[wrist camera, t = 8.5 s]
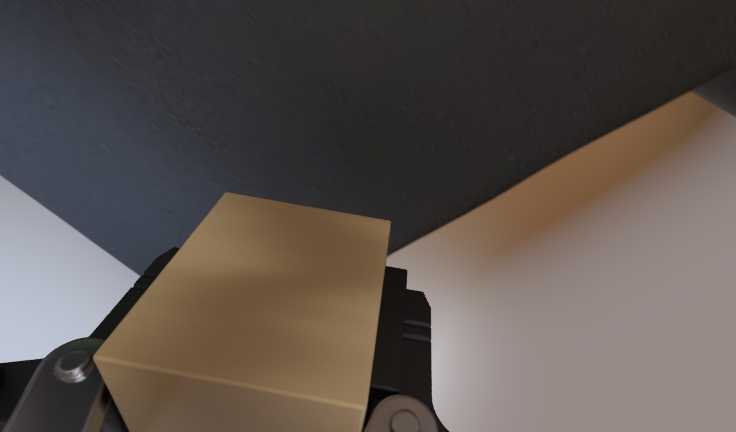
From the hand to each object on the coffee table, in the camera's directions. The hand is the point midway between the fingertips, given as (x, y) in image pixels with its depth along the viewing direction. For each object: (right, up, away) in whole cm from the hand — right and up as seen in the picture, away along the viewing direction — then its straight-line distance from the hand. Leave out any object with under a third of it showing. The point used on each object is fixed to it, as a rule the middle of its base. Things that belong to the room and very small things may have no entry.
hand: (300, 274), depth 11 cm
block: (0, 0, 0) cm, 0 cm away
